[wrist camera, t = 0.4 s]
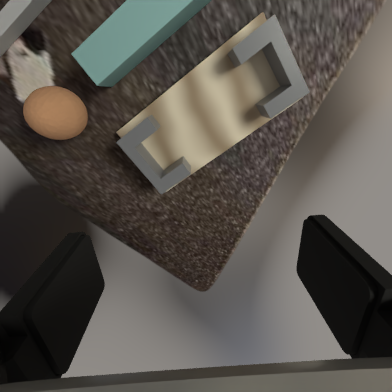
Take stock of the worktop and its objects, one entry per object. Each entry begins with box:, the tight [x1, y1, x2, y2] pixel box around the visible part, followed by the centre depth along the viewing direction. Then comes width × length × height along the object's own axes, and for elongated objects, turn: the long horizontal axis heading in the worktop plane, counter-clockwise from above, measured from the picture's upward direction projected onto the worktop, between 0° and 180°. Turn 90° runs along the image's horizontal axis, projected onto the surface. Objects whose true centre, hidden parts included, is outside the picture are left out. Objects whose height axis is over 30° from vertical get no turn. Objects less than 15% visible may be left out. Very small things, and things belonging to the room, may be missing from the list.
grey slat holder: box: [116, 15, 309, 194], centre depth 31 cm, size 24×10×4 cm, turn 126°
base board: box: [116, 12, 303, 191], centre depth 33 cm, size 25×12×2 cm, turn 126°
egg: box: [23, 86, 88, 140], centre depth 29 cm, size 7×7×9 cm
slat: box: [72, 0, 211, 87], centre depth 27 cm, size 18×4×6 cm, turn 125°
